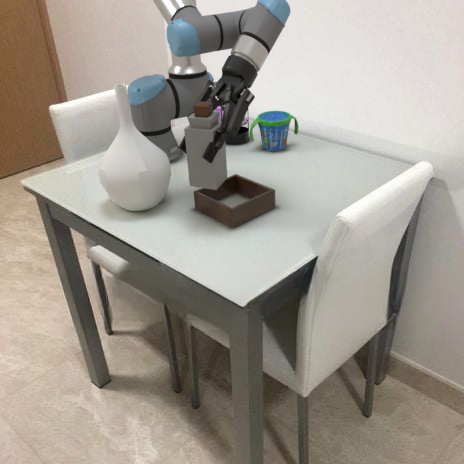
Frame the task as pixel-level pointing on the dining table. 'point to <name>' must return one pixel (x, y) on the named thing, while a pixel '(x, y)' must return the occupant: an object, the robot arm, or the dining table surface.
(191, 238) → the dining table surface
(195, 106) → the perfume bottle
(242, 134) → the french press
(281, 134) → the sippy cup
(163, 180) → the vase
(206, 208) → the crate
